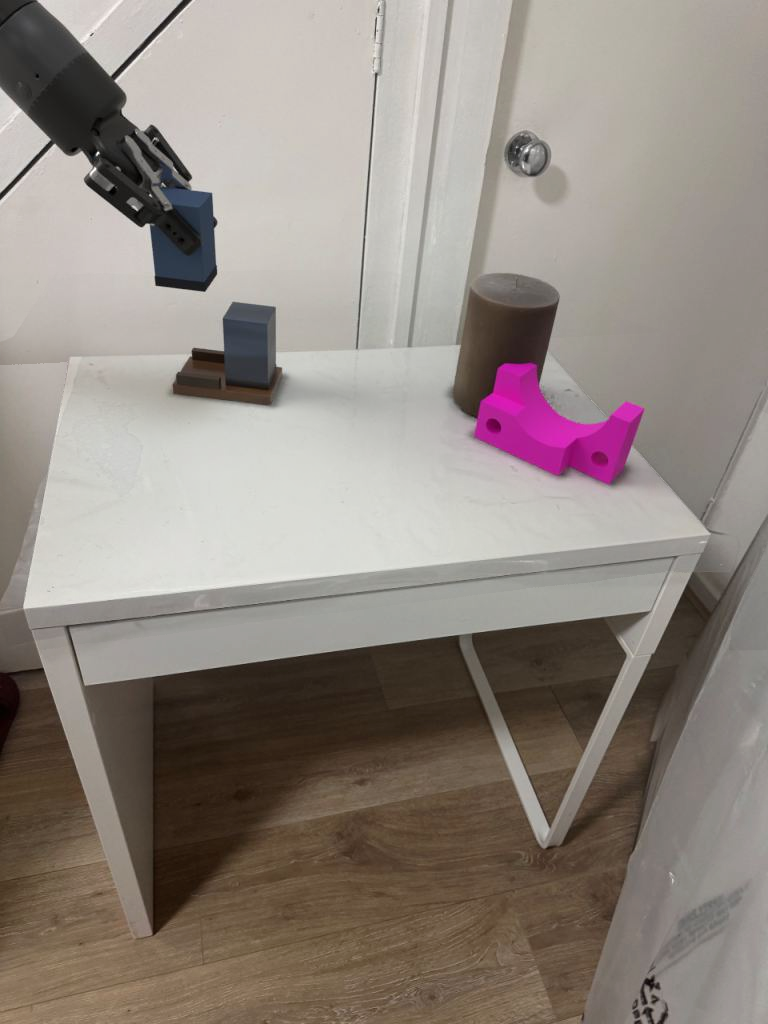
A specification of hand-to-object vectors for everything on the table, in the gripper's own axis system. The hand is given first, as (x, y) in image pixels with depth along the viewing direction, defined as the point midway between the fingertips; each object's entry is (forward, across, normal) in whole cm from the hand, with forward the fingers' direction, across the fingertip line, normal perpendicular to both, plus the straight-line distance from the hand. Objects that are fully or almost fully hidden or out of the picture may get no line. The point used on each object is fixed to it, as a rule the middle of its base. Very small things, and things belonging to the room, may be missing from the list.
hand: (203, 238), depth 72 cm
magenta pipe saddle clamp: (+39, -1, -13) cm, 41 cm away
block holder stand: (+13, +5, +13) cm, 19 cm away
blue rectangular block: (+2, 0, +4) cm, 5 cm away
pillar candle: (+35, +8, -9) cm, 37 cm away
